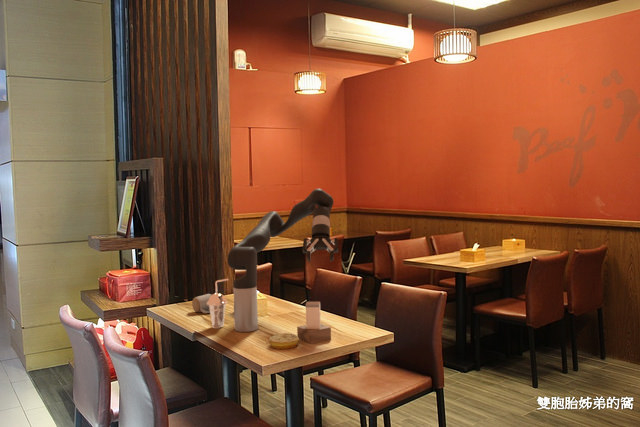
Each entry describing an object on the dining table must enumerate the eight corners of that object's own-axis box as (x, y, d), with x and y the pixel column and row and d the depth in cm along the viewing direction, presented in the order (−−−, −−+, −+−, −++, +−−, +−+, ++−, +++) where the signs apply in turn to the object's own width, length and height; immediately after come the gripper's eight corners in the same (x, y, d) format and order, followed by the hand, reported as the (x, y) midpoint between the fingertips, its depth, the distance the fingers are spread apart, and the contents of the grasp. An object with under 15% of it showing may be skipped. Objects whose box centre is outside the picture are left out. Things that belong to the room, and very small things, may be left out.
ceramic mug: (191, 311, 265) (190, 295, 264) (207, 308, 270) (206, 292, 270) (202, 315, 257) (202, 298, 256) (218, 312, 262) (218, 296, 262)
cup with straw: (217, 323, 242) (215, 276, 241) (233, 325, 237) (232, 277, 236) (203, 328, 235) (201, 279, 234) (220, 330, 230) (218, 281, 229)
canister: (307, 325, 217) (306, 301, 217) (320, 325, 217) (320, 301, 217) (306, 328, 213) (305, 304, 212) (319, 328, 212) (319, 304, 212)
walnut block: (297, 338, 216) (297, 326, 216) (317, 334, 221) (316, 322, 221) (311, 343, 209) (310, 331, 208) (331, 339, 214) (330, 327, 214)
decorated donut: (303, 343, 211) (303, 332, 211) (291, 351, 201) (291, 340, 201) (277, 340, 215) (277, 330, 214) (264, 348, 205) (264, 338, 204)
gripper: (338, 234, 241) (338, 265, 231) (304, 234, 242) (302, 266, 232) (337, 222, 236) (337, 254, 225) (303, 223, 236) (301, 255, 226)
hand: (320, 260), depth 228 cm, fingers open, 8 cm apart
